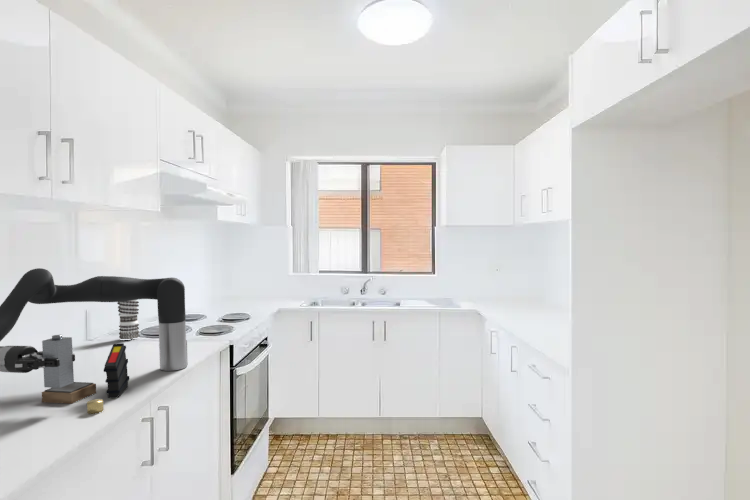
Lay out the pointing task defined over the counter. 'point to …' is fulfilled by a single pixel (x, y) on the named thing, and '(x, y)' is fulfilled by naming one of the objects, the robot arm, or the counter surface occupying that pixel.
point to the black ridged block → (116, 371)
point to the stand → (69, 393)
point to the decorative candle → (128, 319)
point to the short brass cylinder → (95, 406)
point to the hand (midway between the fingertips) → (66, 360)
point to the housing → (62, 351)
